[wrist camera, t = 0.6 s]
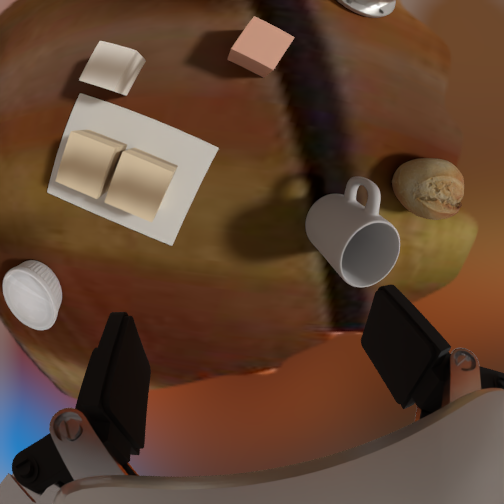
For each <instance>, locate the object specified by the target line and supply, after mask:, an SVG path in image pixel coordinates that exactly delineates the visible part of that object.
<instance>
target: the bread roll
mask: <svg viewBox="0 0 504 504" xmlns="http://www.w3.org/2000/svg"><path fill="white" fill-rule="evenodd" d="M391 182H392V187H393V191H394V194H395V196H396V197H397V198H398V200H399V201H400V203H401V204H402V205H403V206H404V207H405V208H406V209H407V210H409V211H410V212H412V213H414V214H415V215H417V216H420V217H423V218H426V219H432V220H439V219H445V218H449V217H451V216H453V215H455V214H456V213H457V212H458V211H459V208H460V207H461V206H462V205H461V202H460V201H461V199H462V198H463V195H464V179H463V175H462V174H461V173H460V171H459V170H458V169H457V168H456V167H455V166H454V165H453V164H452V163H450V162H448V161H446V160H442V159H436V158H420V159H414V160H410V161H408V162H406V163H404V164H402V165H401V166H400V167H399V168H398V169H397V170H396V172H395V173H394V176H393V179H392V181H391Z"/></svg>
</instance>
